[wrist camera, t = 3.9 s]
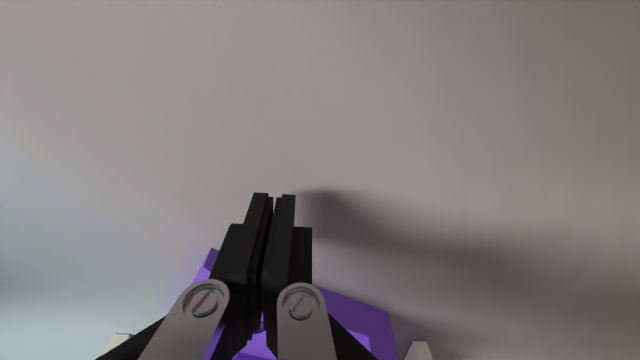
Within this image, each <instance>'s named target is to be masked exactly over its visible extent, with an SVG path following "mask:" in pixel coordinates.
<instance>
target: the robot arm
mask: <svg viewBox="0 0 640 360" xmlns="http://www.w3.org/2000/svg"><path fill="white" fill-rule="evenodd" d="M295 196H296V195H288V194H282V198H279V197H277V199H276V204H275V209H274V214H273V197H268V193H254V194H253V197H252V200H251V203H250V206H249V209H248V212H247V215H246V217H245V220H244V223H243V224H231V225H230V227H229V229H228V231H227V234H226V236H225V239H224V241H223V244H222V246H221V249H220V251H219V254H218V256H217V259H216V261H215V263H214V266H213V268H212V271H211V273H210V276H209V278H208V279H206V280H201V281H198V282H196V283H194V284H192V285H191V286H189V287H188V288H186V289H185V290H184V291H183V293H182V294H181V295H180V296H179V298H178V299H177V301H176V302H175V304H174V305H173V307H172V308H171V310H170V311H169V313H168V314H167V316H165V317H163V318H162V319H160V320H159V321H157V322H155V323H154V324H152V325H150V326H149V327H147V328H146V329H144V330H142V331H141V332H139V333H137V334H136V335H134V336H133V337H131V338H129V339H128V340H126V341H124V342H123V343H121V344H120V345H118V346H116V347H115V348H113V349H111V350H110V351H108V352H107V353H105V354H103V355H102V356H100V357H98V358H97V359H95V360H236V358H237V354H238V352H239V351H241V350H242V349H243V348H244V347H245V346H246V345H247V341H248V340H252V337H253V331H259V329H260V324H261V318H262V312H263V330H264V331H266V346H267V347H268V348H269V350H270V351H271V352H272V353H273V355H274V356H275V357H276V360H378V359H377V358H376V357H375V356H374V355H373V354H372V353H371V352H369V351H368V350H367V349H366V348H365V347H364V346H363V345H362V344H361V343H360V342H359V341H358V340H357V339H356V338H355V337H354V336H352V335H351V334H350V333H349V332H348V331H347V330H346V329H345V328H344V327H343V326H342V325H341V324H340V323H339V322H338V321H336V320H335V319H334V318H333V317H332V316H331V315H330V314H329V313H328V312H327V308H326V304H325V300H324V297H323V294H322V293H321V292H320V291H319V289H318V288H316V287H315V286H313V285H312V228H310V227H294V218H295Z"/></svg>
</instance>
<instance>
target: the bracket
mask: <svg viewBox="0 0 640 360" xmlns="http://www.w3.org/2000/svg"><path fill="white" fill-rule="evenodd" d="M218 254H219V251H218V250H215V249H212V248H211V250H210V251H209V253H208V255H207V257H206V259H205V261H204V263H203V264H202V266H201V268H200V270H199V272H198V274H197V276H196V277H195V279H194V281H193V283H192V284H194V283H196V282H198V281H201V280H206V279H208V278H209V276H210V273H211V271H212V268H213V266H214V263H215V261H216V259H217V256H218ZM313 286H314V285H313ZM315 287H316V288H318V289H319V291H320V292H321V293H322V294H323V297H324V300H325V304H326V308H327V312H328V313H329V314H330V315H331V316H332V317H333V318H334V319H335V320H336V321H338V322H339V323H340V324H341V325H342V326H343V327H344V328H345V329H346V330H347V331H348V332H349V333H350V334H351V335H352V336H354V337H355V338H356V339H357V340H358V341H359V342H360V343H361V344H362V345H363V346H364V347H365V348H366V349H367V350H368V351H369V352H371V353H372V354H373V355H374V356H375V357H376V358H377V359H378V360H399V356H398V352H397V348H396V344H395V340H394V336H393V332H392V328H391V324H390V321H389V317H388V313H387V312H385V311H383V310H380V309H377V308H374V307H372V306H369V305H366V304H363V303H361V302H358V301H355V300H352V299H350V298H347V297H344V296H341V295H339V294H336V293H333V292H330V291H328V290H325V289H322V288H319V287H317V286H315ZM236 360H276V357H275V356H274V355H273V353H272V352H271V351H270V350H269V348H268V347H267V346H266V331H264V330H263V312H262V318H261V324H260V329H259V331H253V337H252V340H248V341H247V345H246V346H245V347H244V348H243V349H242V350H241V351H239V352H238V354H237V358H236Z"/></svg>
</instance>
